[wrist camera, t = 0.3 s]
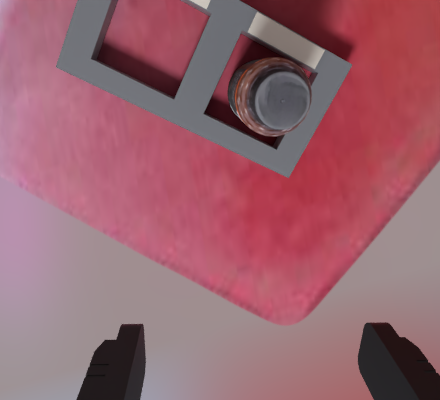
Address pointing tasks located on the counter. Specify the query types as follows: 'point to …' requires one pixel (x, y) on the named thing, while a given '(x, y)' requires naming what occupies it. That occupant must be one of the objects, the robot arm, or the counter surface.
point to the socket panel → (209, 75)
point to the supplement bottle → (270, 95)
